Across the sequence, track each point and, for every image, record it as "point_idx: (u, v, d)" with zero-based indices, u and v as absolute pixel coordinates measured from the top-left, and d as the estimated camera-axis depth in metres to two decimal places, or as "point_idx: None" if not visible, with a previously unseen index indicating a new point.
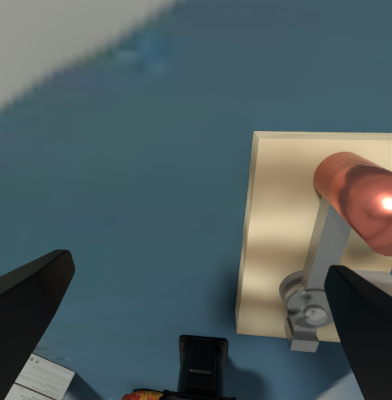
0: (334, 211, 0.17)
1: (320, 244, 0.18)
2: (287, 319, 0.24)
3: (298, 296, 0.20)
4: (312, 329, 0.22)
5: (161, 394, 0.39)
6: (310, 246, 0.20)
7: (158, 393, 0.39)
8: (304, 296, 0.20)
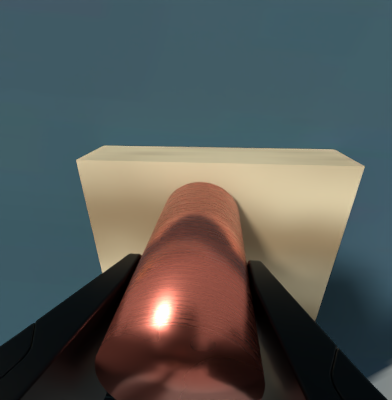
0: None
1: None
2: None
3: None
4: None
5: None
6: None
7: None
8: None
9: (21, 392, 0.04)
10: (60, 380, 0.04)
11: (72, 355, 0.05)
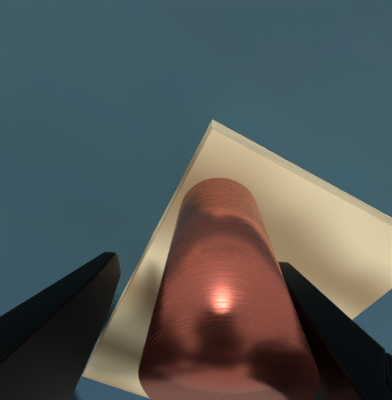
0: None
1: None
2: None
3: None
4: None
5: None
6: None
7: None
8: None
9: None
10: (17, 376, 0.05)
11: (31, 351, 0.05)
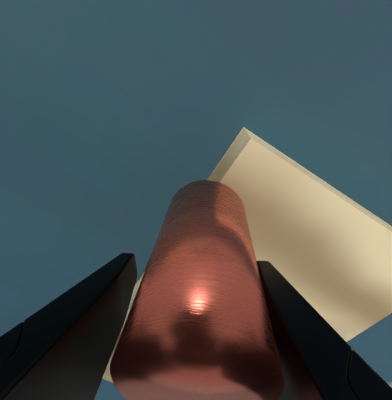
0: None
1: None
2: None
3: None
4: None
5: None
6: None
7: None
8: None
9: (6, 390, 0.04)
10: (47, 379, 0.04)
11: (60, 354, 0.05)
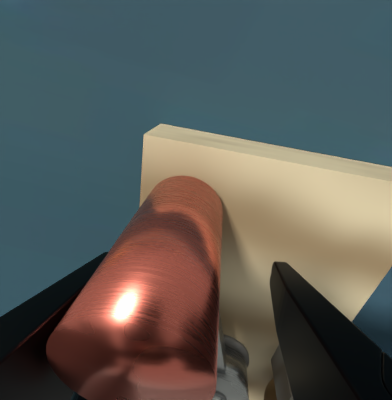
0: None
1: None
2: None
3: None
4: None
5: None
6: None
7: None
8: None
9: None
10: (17, 376, 0.05)
11: (32, 351, 0.05)
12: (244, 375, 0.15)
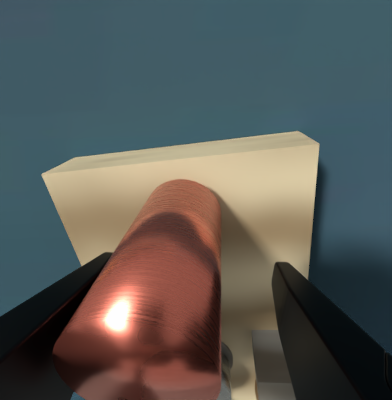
0: None
1: None
2: None
3: None
4: None
5: None
6: None
7: None
8: None
9: None
10: (17, 375, 0.05)
11: (31, 351, 0.05)
12: (228, 377, 0.15)
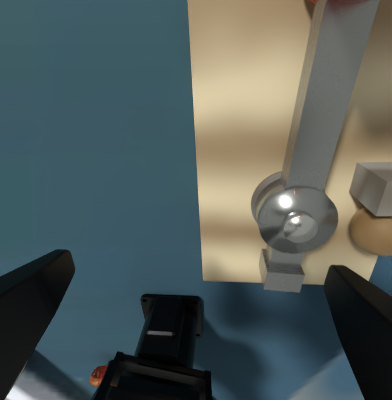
0: (335, 12, 0.09)
1: (309, 91, 0.11)
2: (262, 250, 0.17)
3: (274, 197, 0.13)
4: (295, 257, 0.15)
5: None
6: (294, 112, 0.12)
7: None
8: (282, 195, 0.13)
9: None
10: None
11: None
12: None
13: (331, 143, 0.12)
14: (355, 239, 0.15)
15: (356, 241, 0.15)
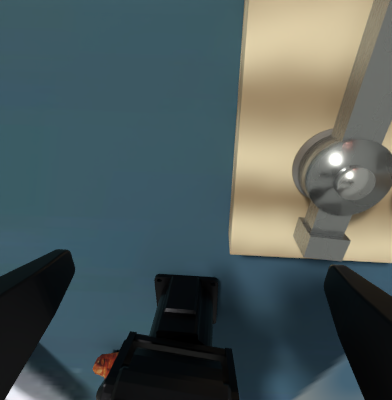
0: None
1: (385, 24, 0.10)
2: (300, 219, 0.16)
3: (329, 149, 0.12)
4: (341, 221, 0.14)
5: None
6: (358, 55, 0.12)
7: None
8: (339, 145, 0.12)
9: None
10: None
11: None
12: None
13: None
14: None
15: None
